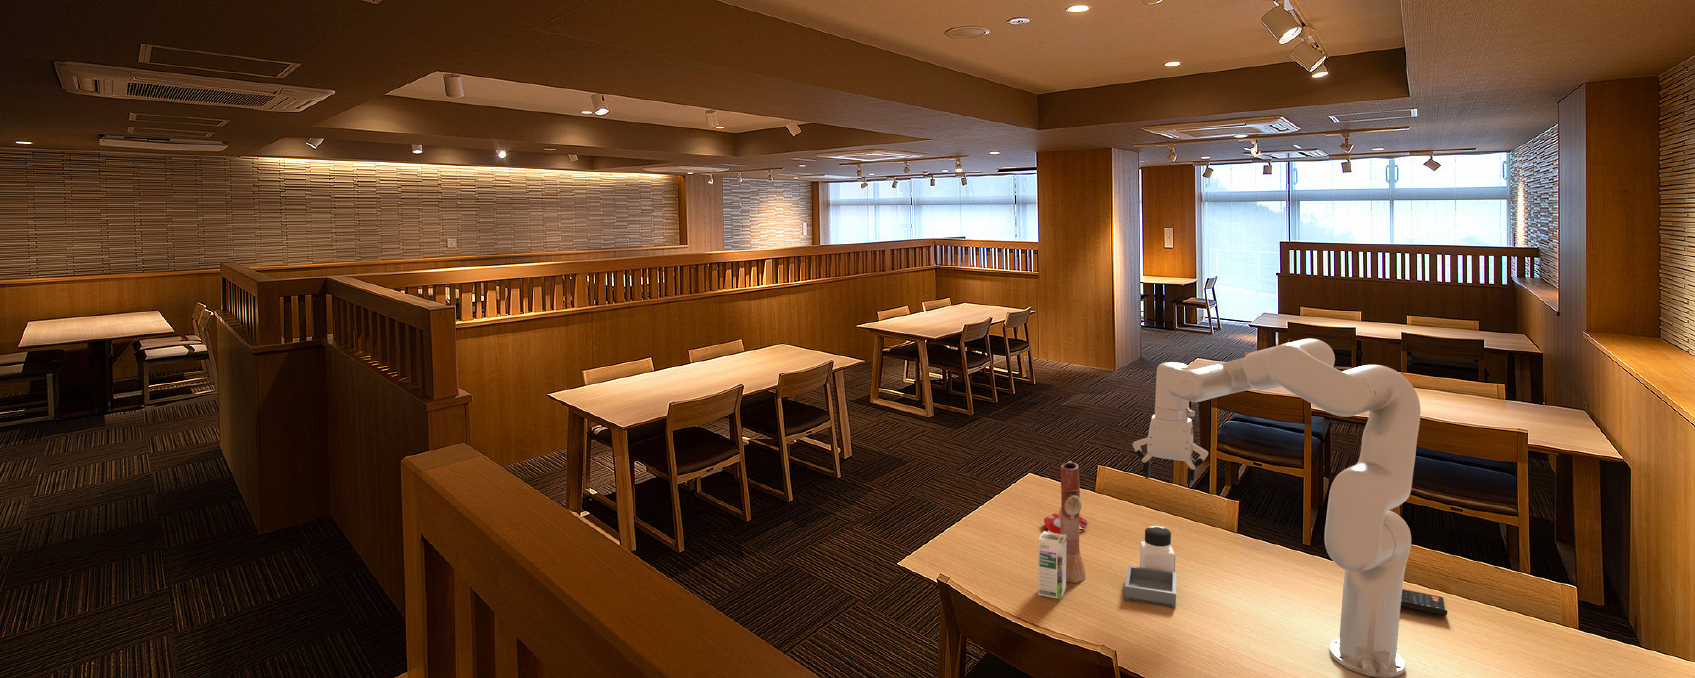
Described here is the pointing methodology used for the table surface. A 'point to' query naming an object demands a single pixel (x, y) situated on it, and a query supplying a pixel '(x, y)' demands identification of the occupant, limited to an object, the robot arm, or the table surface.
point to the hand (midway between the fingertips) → (1168, 479)
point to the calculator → (1423, 602)
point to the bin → (1151, 586)
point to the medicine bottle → (1157, 549)
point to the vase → (1071, 520)
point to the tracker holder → (1054, 523)
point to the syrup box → (1052, 565)
